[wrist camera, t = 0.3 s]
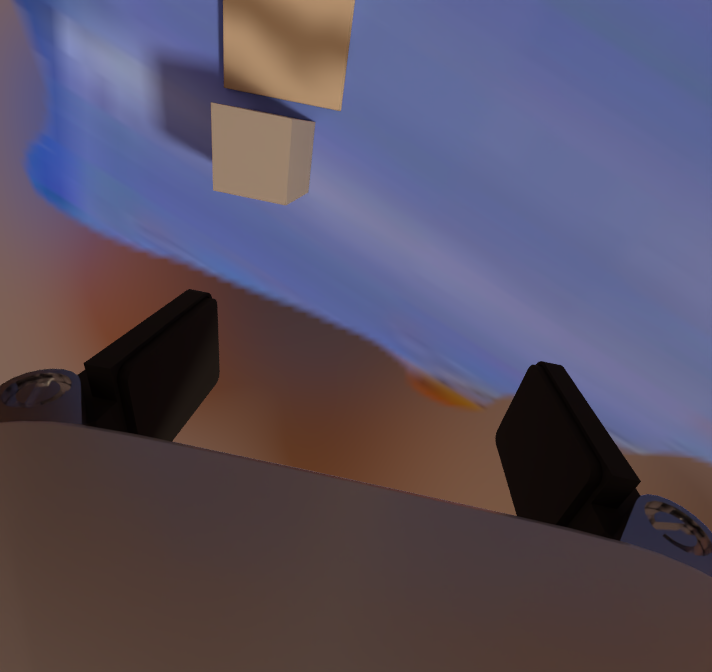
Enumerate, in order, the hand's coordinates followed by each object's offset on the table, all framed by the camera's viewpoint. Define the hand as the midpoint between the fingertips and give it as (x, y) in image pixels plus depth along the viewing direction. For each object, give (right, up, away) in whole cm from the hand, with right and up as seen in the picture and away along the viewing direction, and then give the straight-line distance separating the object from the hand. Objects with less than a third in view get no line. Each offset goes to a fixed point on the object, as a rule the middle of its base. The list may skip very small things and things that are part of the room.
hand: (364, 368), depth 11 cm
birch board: (-6, +28, +20) cm, 35 cm away
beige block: (-8, +19, +25) cm, 33 cm away
